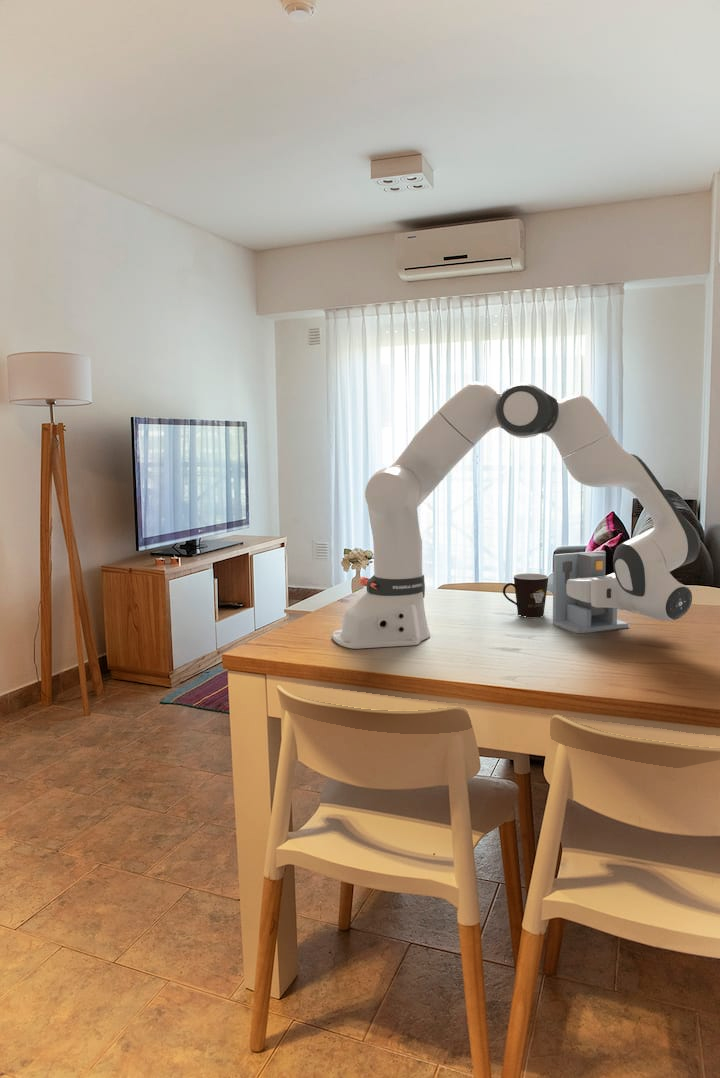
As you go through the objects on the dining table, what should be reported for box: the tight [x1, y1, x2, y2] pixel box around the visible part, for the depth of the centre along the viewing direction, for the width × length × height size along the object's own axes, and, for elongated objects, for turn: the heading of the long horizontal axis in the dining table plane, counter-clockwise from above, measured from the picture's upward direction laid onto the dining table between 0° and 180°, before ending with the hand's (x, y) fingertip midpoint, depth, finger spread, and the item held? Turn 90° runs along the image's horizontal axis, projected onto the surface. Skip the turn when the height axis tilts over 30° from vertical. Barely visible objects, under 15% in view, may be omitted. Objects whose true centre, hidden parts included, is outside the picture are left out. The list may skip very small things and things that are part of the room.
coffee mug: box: [502, 573, 549, 618], centre depth 189 cm, size 12×9×10 cm
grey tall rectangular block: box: [578, 553, 607, 616], centre depth 176 cm, size 4×6×14 cm
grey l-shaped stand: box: [552, 550, 629, 634], centre depth 176 cm, size 14×10×17 cm
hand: (588, 580), depth 177 cm, fingers closed on grey tall rectangular block, 4 cm apart
